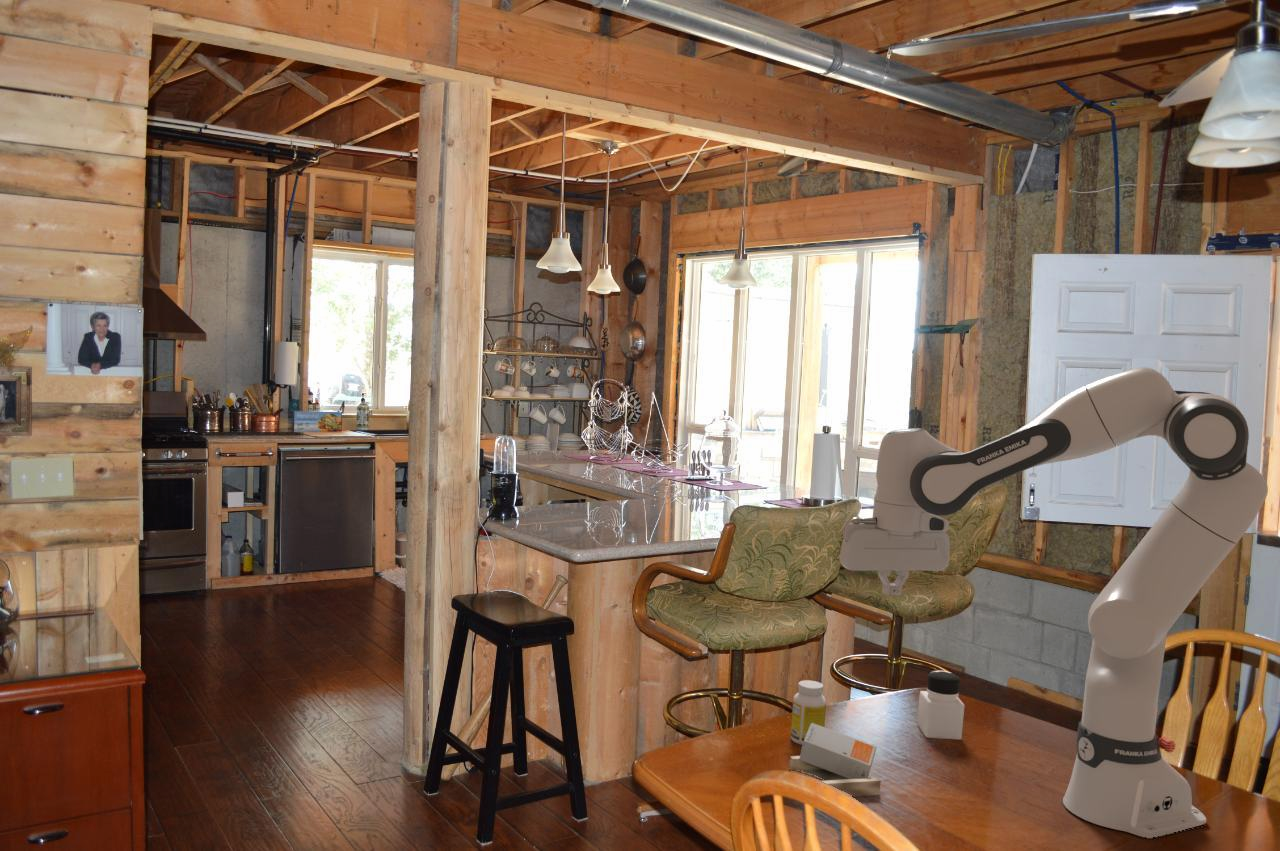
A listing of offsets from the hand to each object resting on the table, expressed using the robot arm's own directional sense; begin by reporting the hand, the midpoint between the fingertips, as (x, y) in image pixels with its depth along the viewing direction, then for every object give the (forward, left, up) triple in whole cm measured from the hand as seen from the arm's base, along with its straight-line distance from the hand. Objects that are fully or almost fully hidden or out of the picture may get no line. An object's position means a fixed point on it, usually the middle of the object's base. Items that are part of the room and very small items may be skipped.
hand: (891, 594), depth 184 cm
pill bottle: (+9, -11, -31) cm, 34 cm away
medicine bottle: (-20, -12, -31) cm, 39 cm away
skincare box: (+5, +8, -28) cm, 30 cm away
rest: (+12, +7, -31) cm, 34 cm away
